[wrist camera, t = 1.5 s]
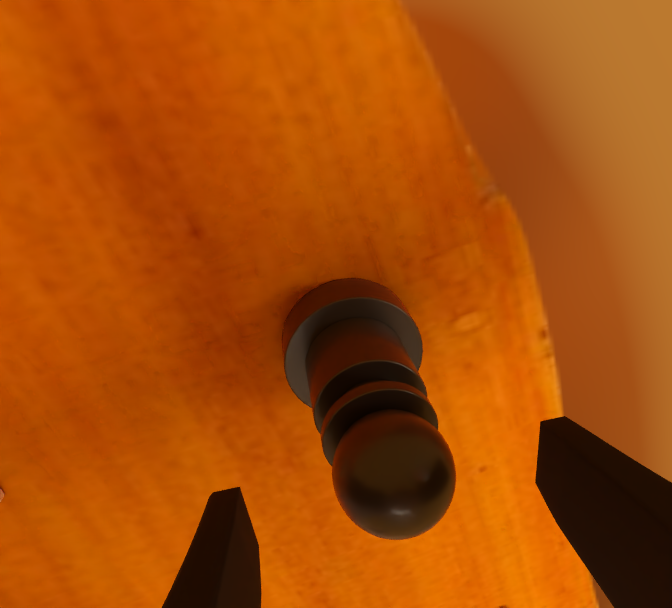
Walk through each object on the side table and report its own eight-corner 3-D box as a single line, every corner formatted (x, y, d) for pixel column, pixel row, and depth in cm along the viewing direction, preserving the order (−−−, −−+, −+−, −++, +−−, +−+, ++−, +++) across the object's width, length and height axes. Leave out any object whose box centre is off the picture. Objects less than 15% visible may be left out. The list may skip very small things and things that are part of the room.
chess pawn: (373, 404, 19) (444, 606, 12) (261, 369, 17) (265, 577, 10) (432, 305, 17) (557, 468, 10) (315, 257, 16) (364, 411, 9)
